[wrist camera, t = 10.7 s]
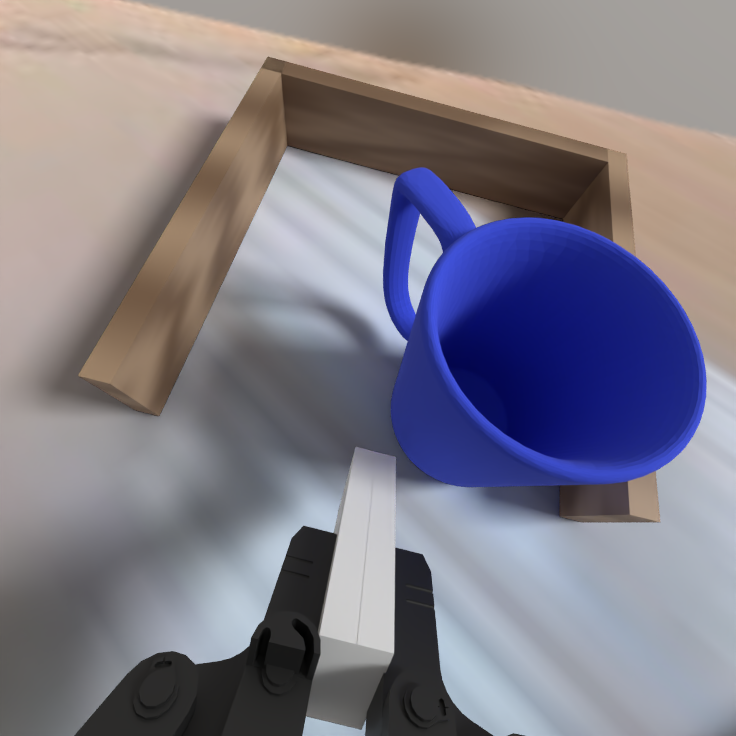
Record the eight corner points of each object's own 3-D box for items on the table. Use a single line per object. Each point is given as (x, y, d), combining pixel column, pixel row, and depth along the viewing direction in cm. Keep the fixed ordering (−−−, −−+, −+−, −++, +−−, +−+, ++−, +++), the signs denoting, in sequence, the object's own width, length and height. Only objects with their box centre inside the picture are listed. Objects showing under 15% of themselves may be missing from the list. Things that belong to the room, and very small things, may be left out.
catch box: (583, 522, 18) (660, 522, 14) (134, 409, 18) (77, 375, 14) (578, 211, 27) (626, 154, 22) (276, 130, 26) (267, 56, 22)
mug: (432, 278, 23) (507, 114, 14) (557, 451, 19) (769, 388, 10) (312, 329, 20) (305, 173, 11) (429, 537, 17) (555, 555, 8)
